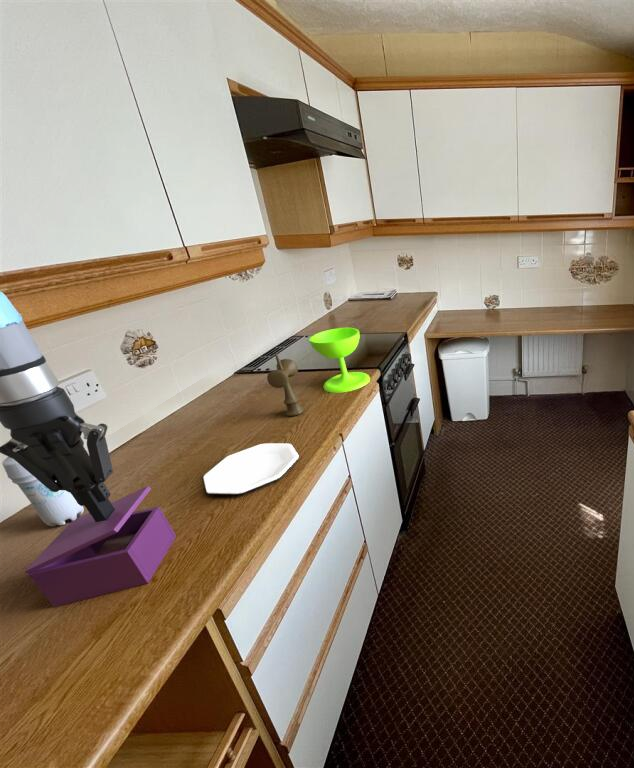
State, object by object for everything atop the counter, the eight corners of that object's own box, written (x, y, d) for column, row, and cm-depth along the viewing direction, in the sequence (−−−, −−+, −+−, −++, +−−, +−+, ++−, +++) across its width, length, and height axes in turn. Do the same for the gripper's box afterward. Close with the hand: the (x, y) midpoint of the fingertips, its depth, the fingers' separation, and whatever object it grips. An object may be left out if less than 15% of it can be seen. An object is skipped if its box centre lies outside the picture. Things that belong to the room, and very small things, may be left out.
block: (133, 569, 74) (122, 552, 72) (104, 577, 73) (91, 559, 71) (146, 551, 78) (135, 533, 76) (118, 557, 76) (106, 540, 75)
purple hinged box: (176, 536, 82) (159, 506, 78) (148, 583, 72) (127, 551, 68) (95, 554, 79) (74, 524, 75) (54, 607, 68) (27, 575, 65)
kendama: (310, 404, 131) (292, 346, 123) (301, 419, 123) (281, 358, 114) (290, 407, 130) (271, 349, 122) (280, 422, 122) (258, 360, 113)
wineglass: (355, 393, 137) (343, 343, 129) (313, 392, 140) (298, 343, 132) (378, 373, 151) (367, 327, 143) (339, 373, 154) (327, 327, 146)
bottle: (38, 527, 87) (-21, 449, 78) (76, 505, 92) (25, 430, 84) (58, 532, 85) (0, 453, 76) (96, 510, 90) (46, 434, 82)
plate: (202, 470, 102) (200, 465, 101) (287, 439, 113) (285, 434, 112) (212, 511, 88) (209, 505, 87) (307, 471, 99) (305, 466, 98)
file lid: (151, 488, 77) (148, 485, 76) (117, 532, 67) (113, 529, 66) (74, 524, 75) (71, 521, 75) (28, 574, 65) (23, 571, 65)
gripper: (94, 377, 65) (159, 493, 75) (-8, 393, 62) (74, 510, 72) (63, 397, 59) (138, 520, 69) (-53, 415, 56) (44, 541, 66)
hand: (105, 515), depth 71 cm, fingers closed
